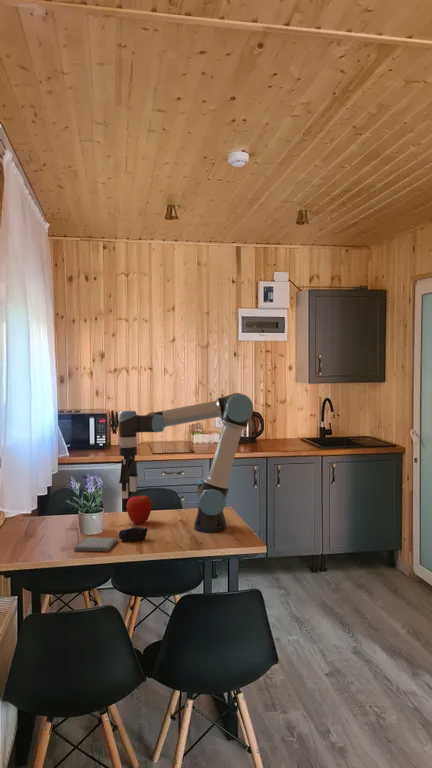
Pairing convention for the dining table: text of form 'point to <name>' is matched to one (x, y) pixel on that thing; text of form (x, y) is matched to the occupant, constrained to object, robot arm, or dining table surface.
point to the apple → (139, 509)
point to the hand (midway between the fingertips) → (129, 494)
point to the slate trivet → (96, 544)
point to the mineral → (133, 534)
